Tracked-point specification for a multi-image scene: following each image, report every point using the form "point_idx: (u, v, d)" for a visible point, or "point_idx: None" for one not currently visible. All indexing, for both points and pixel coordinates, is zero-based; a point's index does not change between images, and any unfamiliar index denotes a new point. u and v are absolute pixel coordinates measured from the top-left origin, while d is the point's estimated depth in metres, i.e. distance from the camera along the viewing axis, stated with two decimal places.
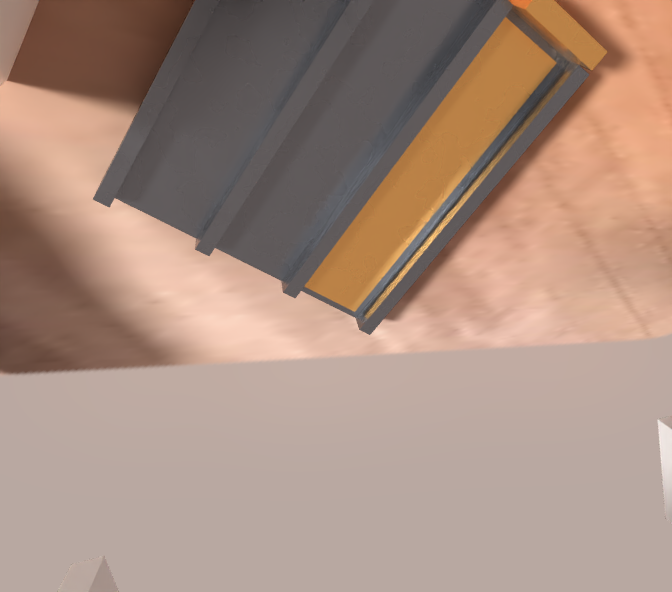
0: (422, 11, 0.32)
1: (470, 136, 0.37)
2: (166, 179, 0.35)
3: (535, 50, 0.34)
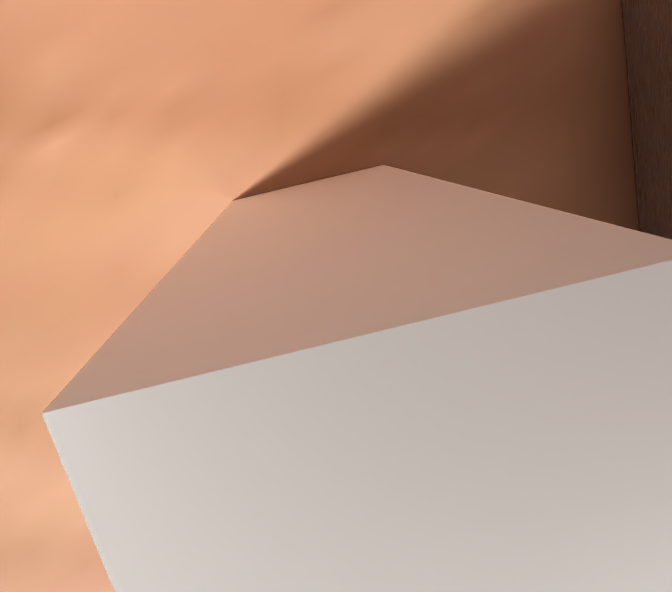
0: None
1: None
2: None
3: None
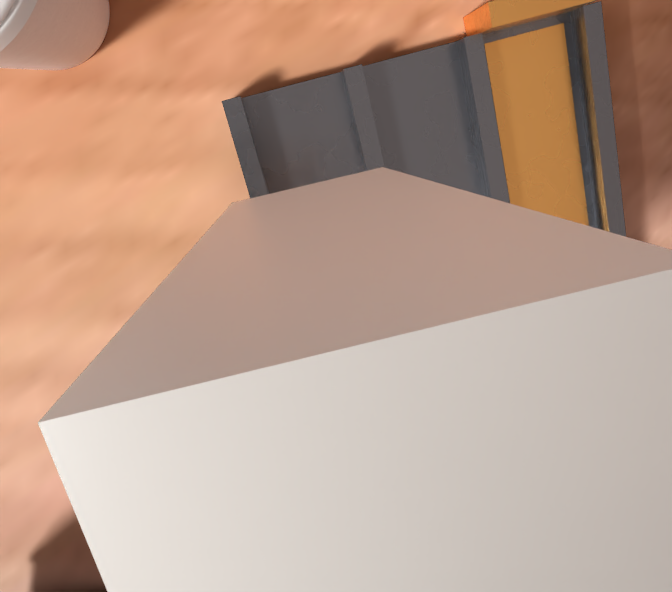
0: (421, 109, 0.33)
1: (553, 143, 0.34)
2: None
3: (535, 35, 0.32)
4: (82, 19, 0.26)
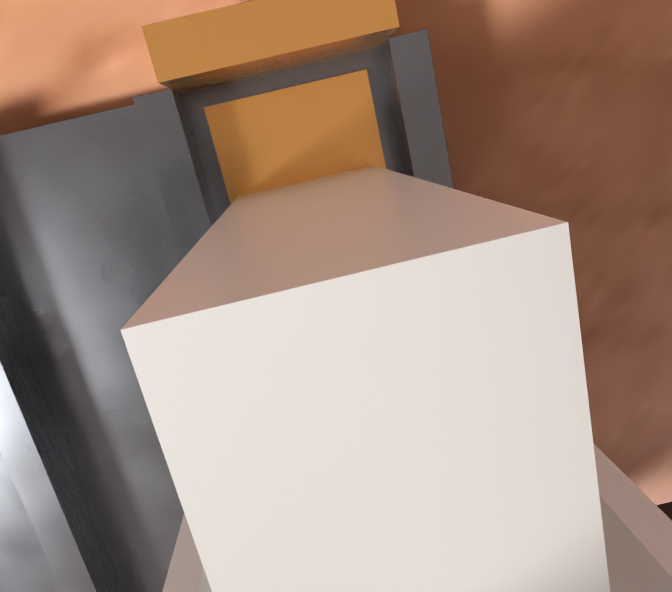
0: (90, 229, 0.17)
1: None
2: None
3: (310, 93, 0.16)
4: None
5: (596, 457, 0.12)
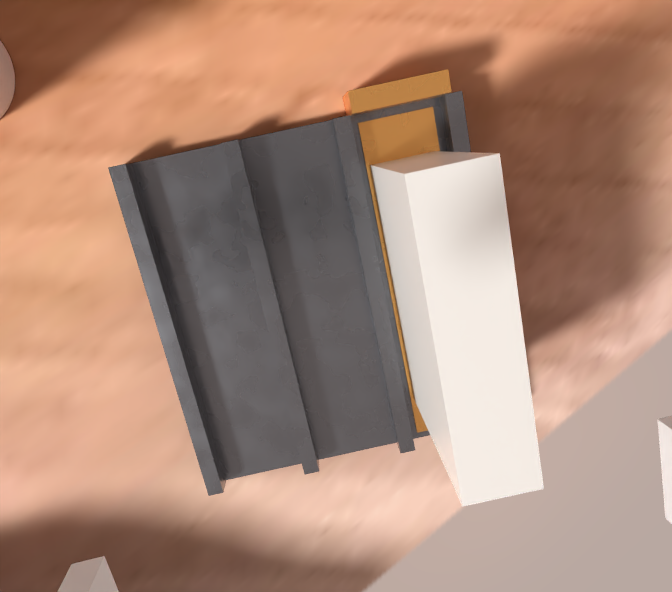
0: (300, 179, 0.35)
1: None
2: (247, 438, 0.39)
3: (406, 117, 0.35)
4: None
5: None
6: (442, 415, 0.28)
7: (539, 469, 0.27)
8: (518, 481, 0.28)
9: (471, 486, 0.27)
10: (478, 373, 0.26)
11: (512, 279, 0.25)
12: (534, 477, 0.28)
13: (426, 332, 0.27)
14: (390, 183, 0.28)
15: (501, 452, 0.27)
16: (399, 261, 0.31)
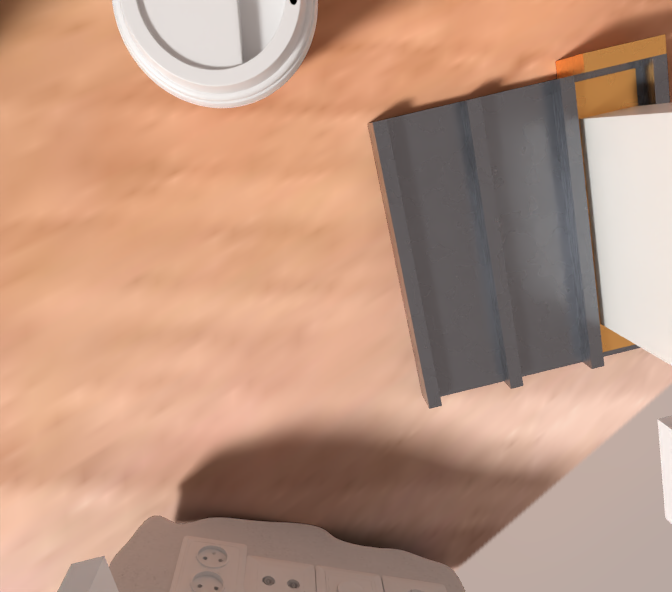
0: (520, 132, 0.42)
1: None
2: (457, 360, 0.46)
3: (613, 77, 0.41)
4: None
5: None
6: None
7: None
8: None
9: None
10: None
11: None
12: None
13: None
14: (641, 126, 0.35)
15: None
16: (628, 194, 0.38)
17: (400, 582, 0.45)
